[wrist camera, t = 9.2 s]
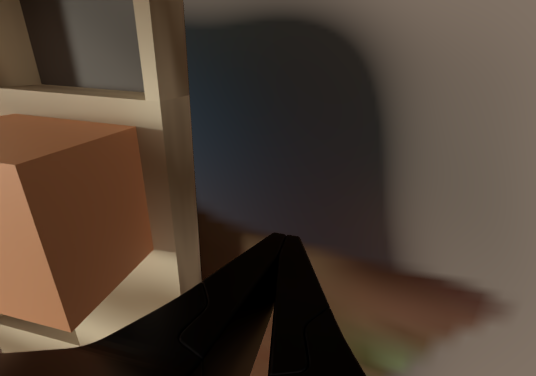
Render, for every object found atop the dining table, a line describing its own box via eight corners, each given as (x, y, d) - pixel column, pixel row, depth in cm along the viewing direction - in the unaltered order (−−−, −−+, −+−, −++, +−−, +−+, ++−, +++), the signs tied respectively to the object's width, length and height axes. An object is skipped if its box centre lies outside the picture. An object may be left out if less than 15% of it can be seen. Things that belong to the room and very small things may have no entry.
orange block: (153, 249, 12) (71, 332, 8) (50, 229, 13) (-64, 296, 9) (135, 126, 10) (14, 165, 6) (14, 113, 10) (-154, 140, 7)
